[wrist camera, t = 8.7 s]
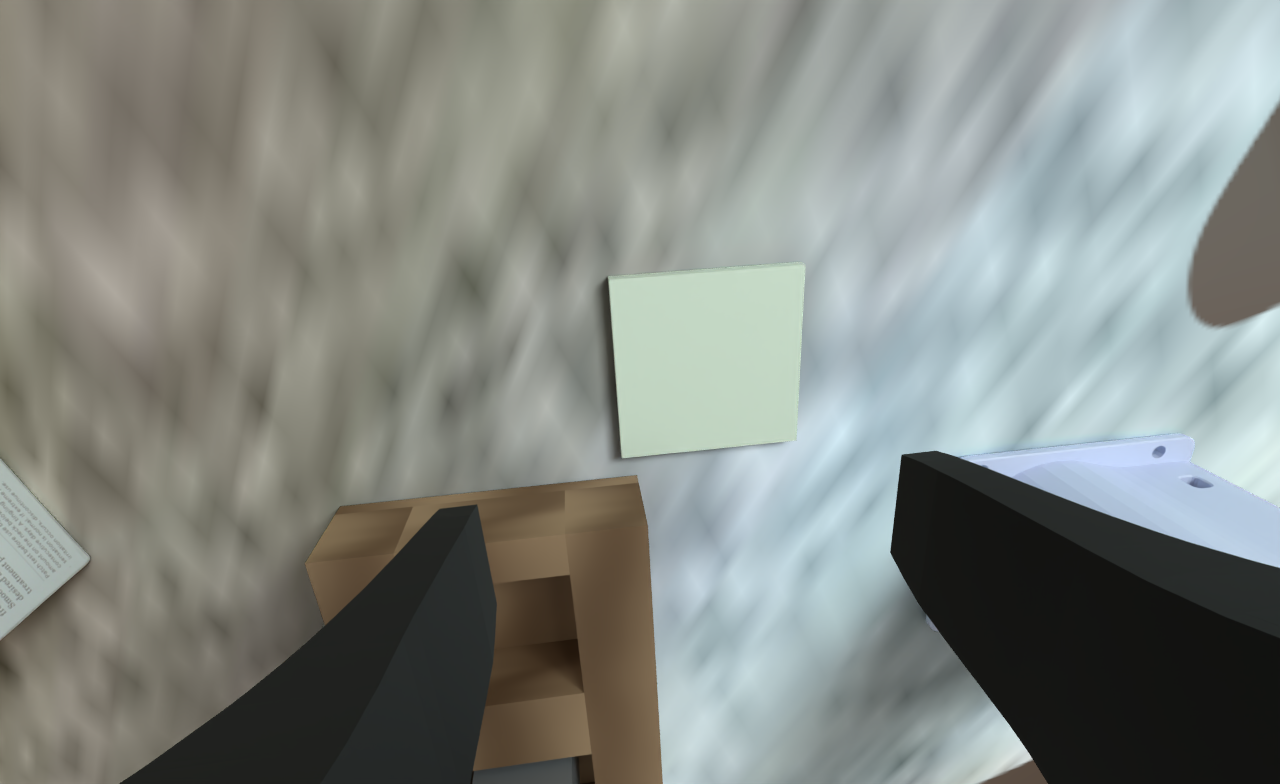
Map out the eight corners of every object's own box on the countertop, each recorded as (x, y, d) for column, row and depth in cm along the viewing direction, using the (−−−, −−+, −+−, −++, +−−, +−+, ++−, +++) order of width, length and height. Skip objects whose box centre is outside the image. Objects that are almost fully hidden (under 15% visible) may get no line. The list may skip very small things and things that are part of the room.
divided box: (636, 475, 21) (647, 525, 18) (656, 784, 27) (666, 856, 25) (333, 507, 20) (297, 564, 18) (424, 819, 26) (408, 898, 24)
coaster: (799, 261, 19) (805, 264, 18) (791, 434, 21) (796, 440, 21) (607, 276, 18) (608, 280, 18) (620, 451, 21) (622, 458, 20)
